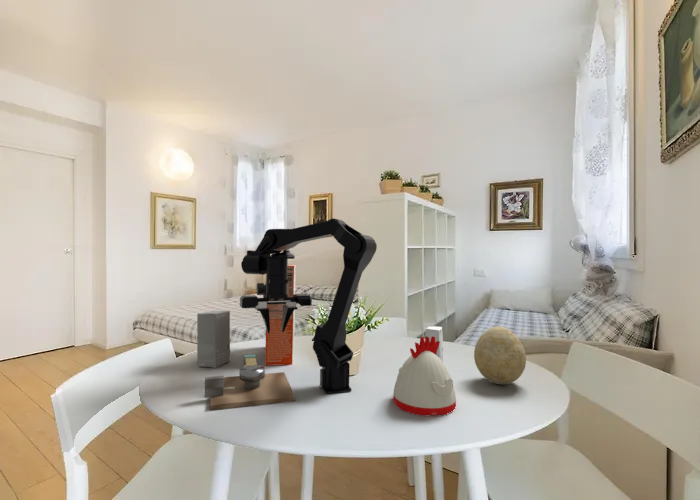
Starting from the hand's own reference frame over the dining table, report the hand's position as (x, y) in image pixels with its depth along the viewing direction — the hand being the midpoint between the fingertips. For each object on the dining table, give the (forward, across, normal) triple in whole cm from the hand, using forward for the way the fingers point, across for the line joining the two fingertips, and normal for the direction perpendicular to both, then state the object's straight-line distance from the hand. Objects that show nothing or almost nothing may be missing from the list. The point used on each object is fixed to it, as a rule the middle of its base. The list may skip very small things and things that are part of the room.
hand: (275, 332), depth 98 cm
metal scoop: (+9, +7, +3) cm, 12 cm away
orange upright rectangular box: (+12, -6, -22) cm, 26 cm away
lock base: (+12, +8, +8) cm, 16 cm away
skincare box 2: (+12, -46, +9) cm, 48 cm away
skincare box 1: (+12, +15, -18) cm, 27 cm away
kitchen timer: (+12, -28, +30) cm, 43 cm away
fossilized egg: (+12, -54, +26) cm, 61 cm away
